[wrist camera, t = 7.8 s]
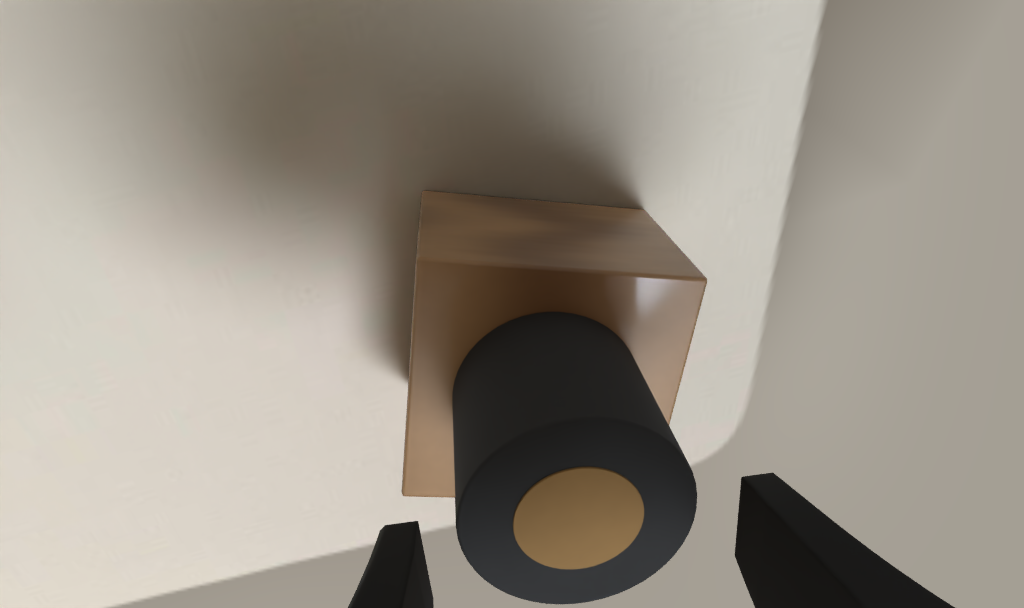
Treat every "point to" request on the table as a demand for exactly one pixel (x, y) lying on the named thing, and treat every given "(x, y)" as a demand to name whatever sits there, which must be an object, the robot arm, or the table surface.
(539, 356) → the tape roll
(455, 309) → the stand
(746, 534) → the robot arm
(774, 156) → the table surface
